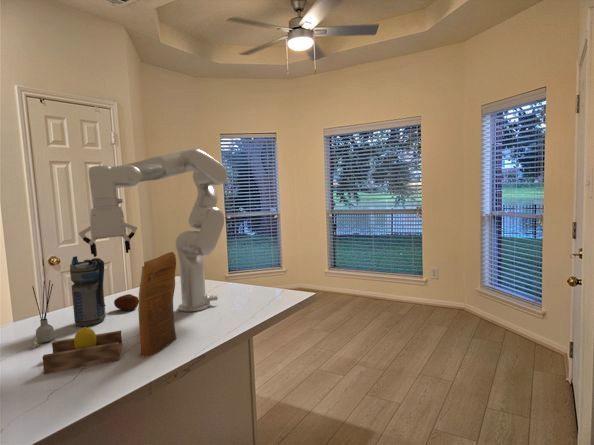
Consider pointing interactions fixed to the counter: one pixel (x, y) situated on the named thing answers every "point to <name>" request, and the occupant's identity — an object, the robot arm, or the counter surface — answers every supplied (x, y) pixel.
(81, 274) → the beverage bottle
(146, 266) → the pancake mix bag
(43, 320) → the reed diffuser
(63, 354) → the u rest
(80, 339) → the lemon
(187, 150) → the robot arm
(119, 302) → the potato
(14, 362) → the counter surface
